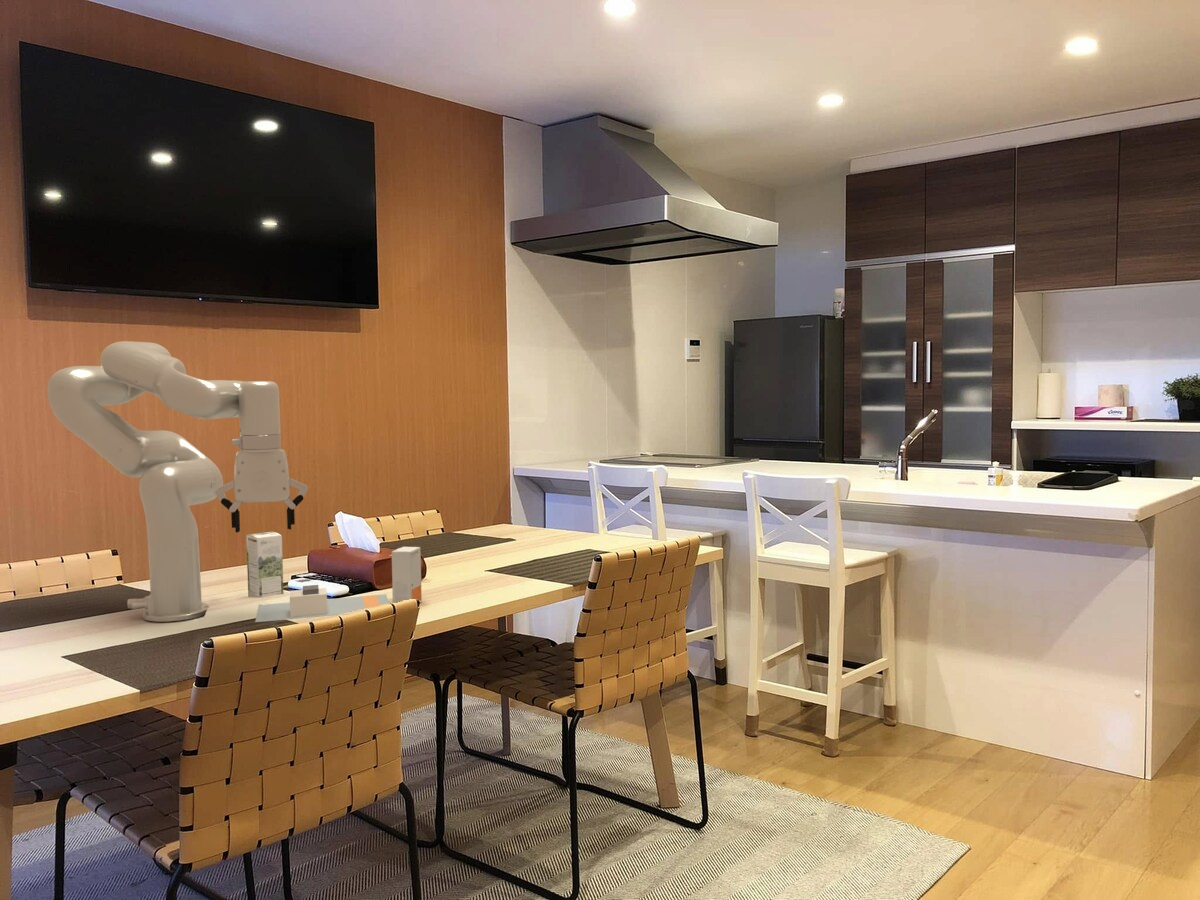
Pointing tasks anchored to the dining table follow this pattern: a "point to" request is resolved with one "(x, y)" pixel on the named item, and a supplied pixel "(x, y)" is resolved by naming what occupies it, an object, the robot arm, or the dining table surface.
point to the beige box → (308, 601)
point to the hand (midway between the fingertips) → (263, 529)
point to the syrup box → (264, 564)
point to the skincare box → (406, 574)
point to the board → (333, 608)
